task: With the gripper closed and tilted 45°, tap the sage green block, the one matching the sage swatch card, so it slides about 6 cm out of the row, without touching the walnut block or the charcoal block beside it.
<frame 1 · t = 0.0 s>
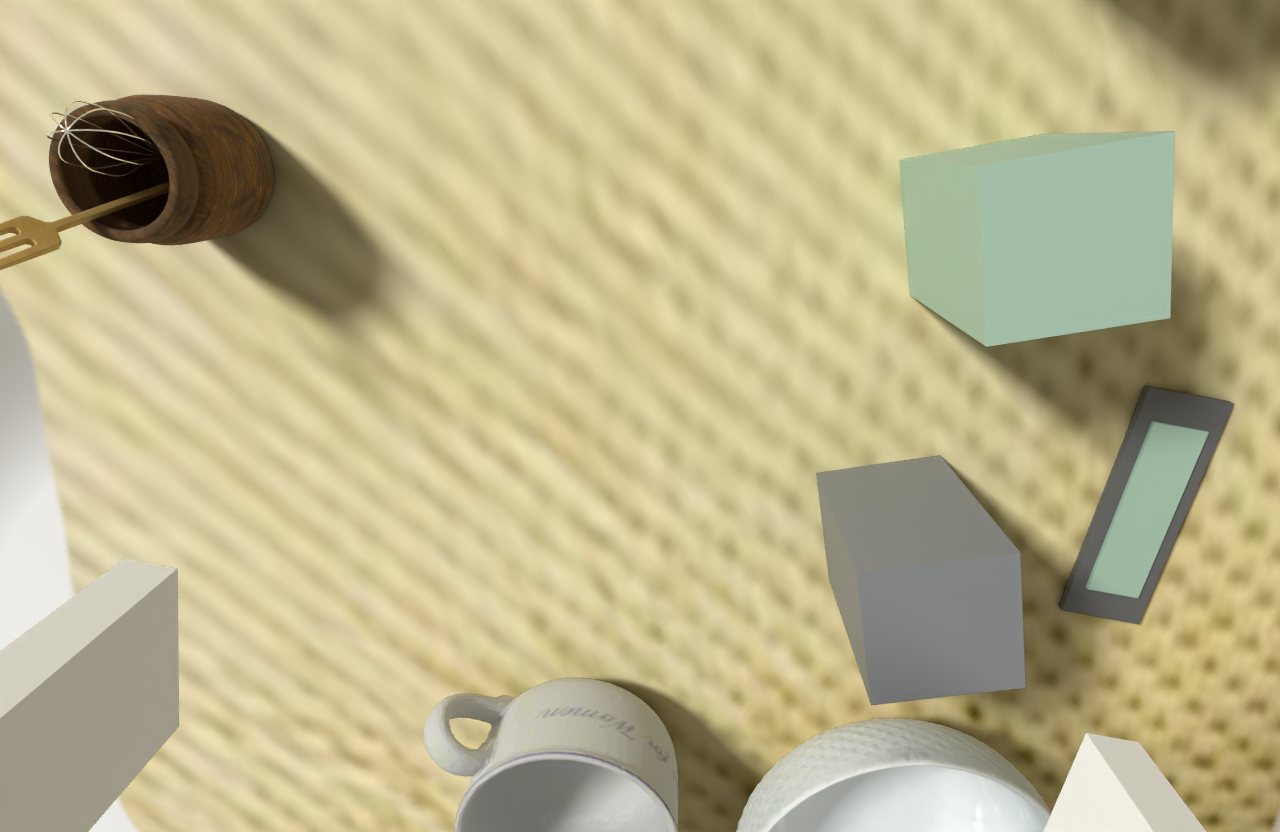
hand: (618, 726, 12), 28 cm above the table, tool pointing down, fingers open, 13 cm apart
charcoal block: (882, 519, 41), on the table
sage block: (973, 217, 36), on the table
teacup: (566, 711, 46), on the table
utensil holder: (216, 171, 37), on the table
cereal bowl: (871, 794, 47), on the table
swatch card: (1139, 508, 40), on the table
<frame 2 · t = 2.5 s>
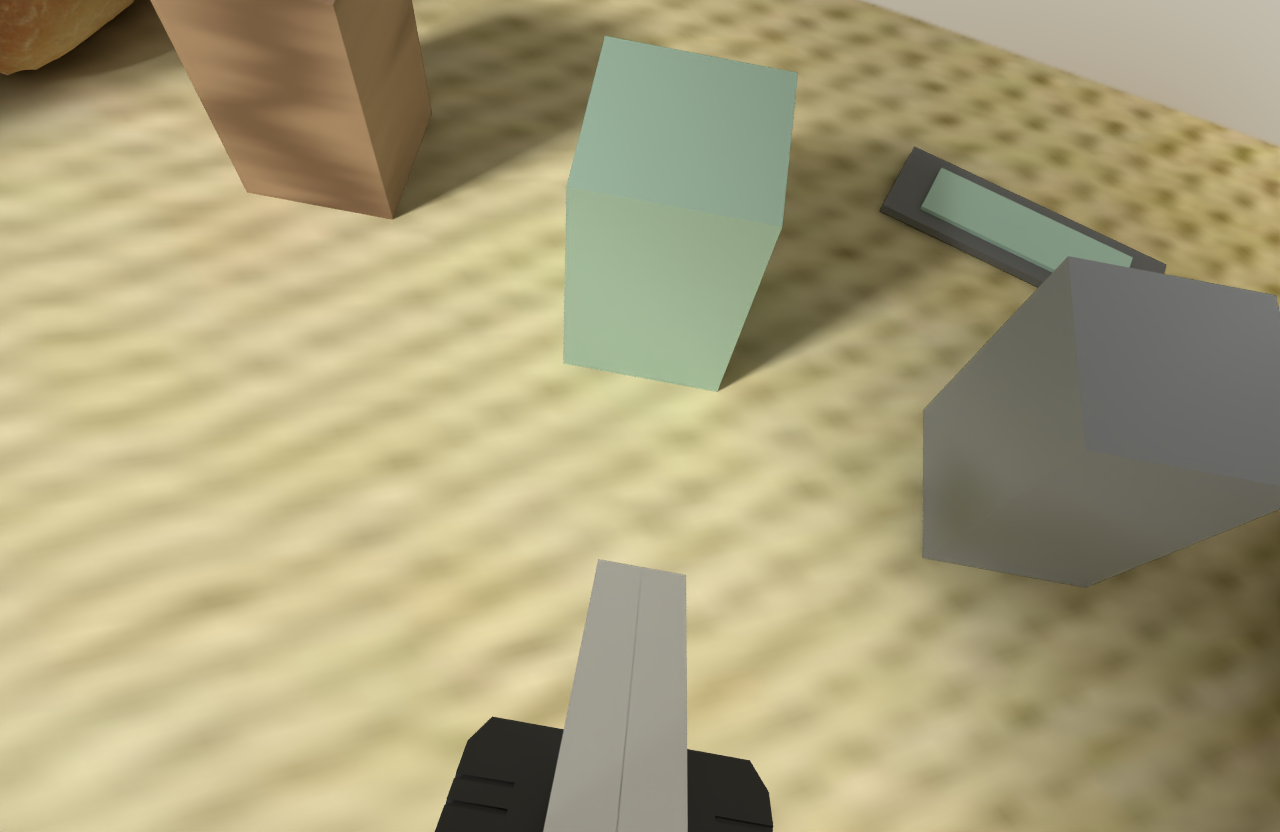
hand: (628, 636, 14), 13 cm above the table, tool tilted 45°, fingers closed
charcoal block: (1001, 495, 31), on the table
sage block: (652, 312, 33), on the table
walnut block: (343, 151, 35), on the table
swatch card: (1020, 240, 36), on the table
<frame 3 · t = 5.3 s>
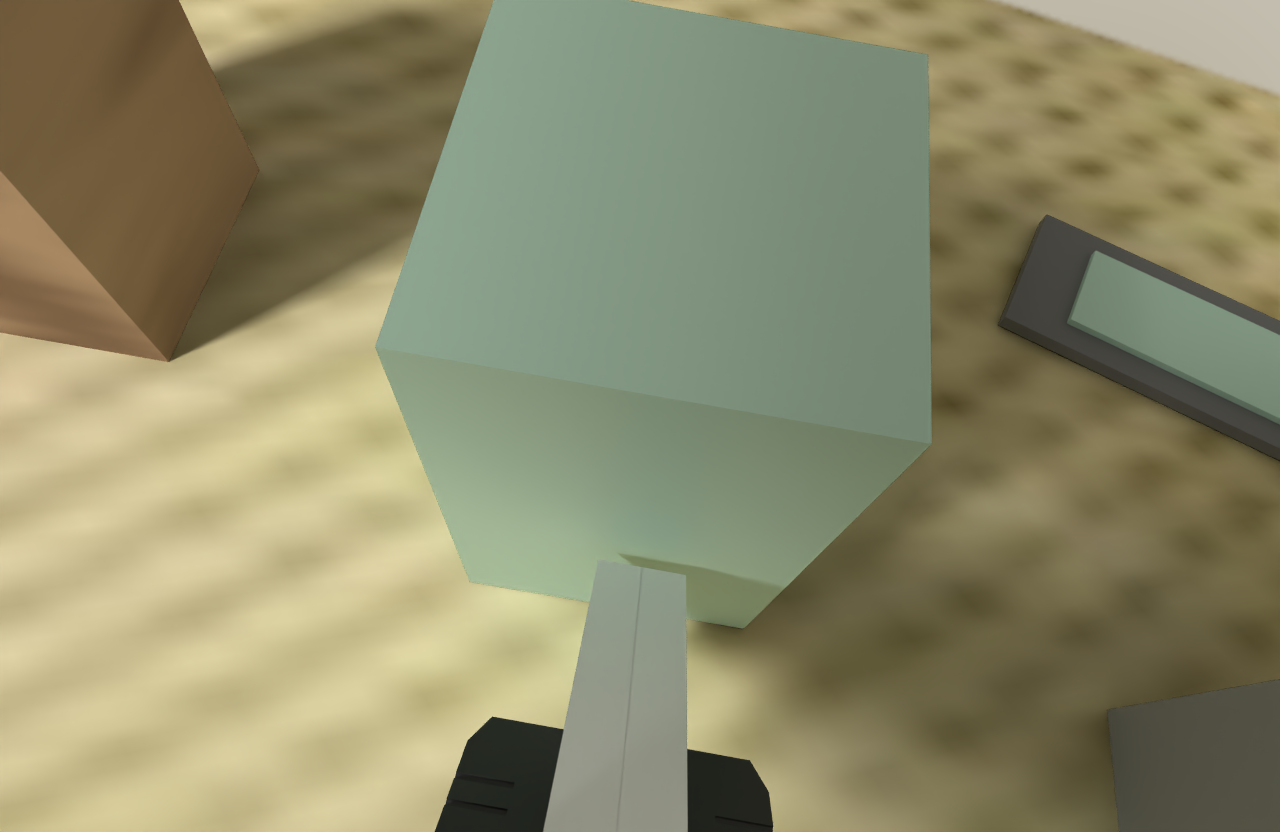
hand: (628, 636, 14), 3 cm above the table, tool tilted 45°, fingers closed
sage block: (628, 477, 19), on the table, touching gripper
walnut block: (98, 239, 21), on the table
swatch card: (1231, 371, 22), on the table
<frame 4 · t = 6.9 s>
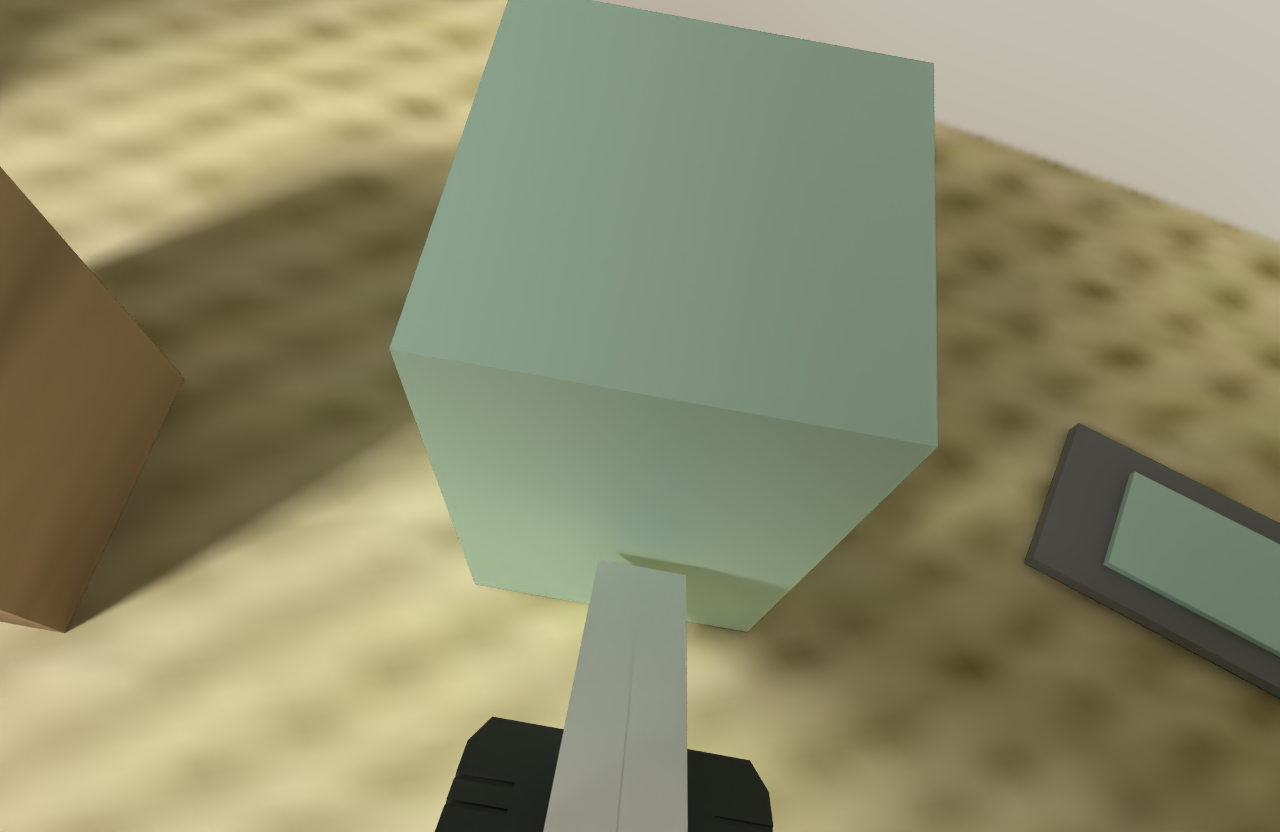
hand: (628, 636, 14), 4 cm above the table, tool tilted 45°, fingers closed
sage block: (633, 481, 19), on the table, touching gripper
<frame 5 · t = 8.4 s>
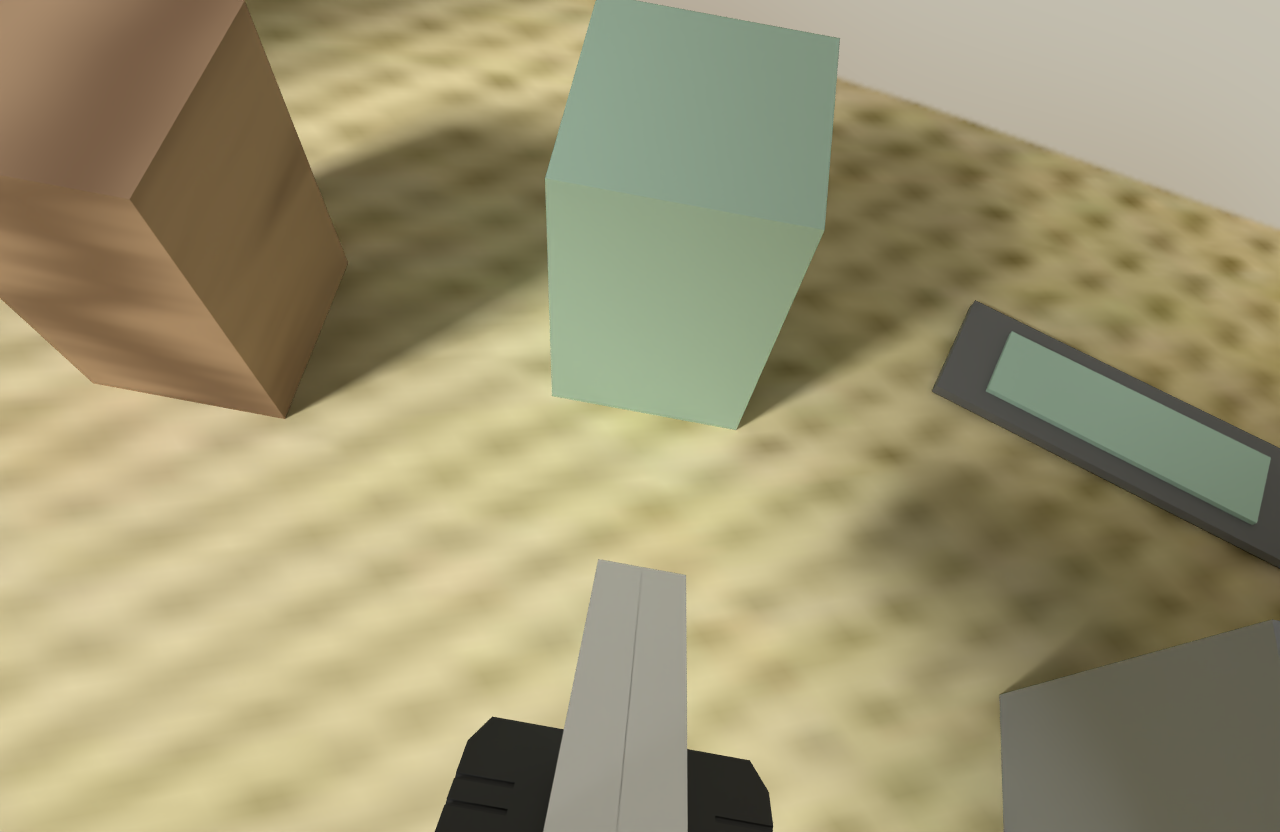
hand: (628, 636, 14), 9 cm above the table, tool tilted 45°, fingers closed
charcoal block: (1113, 830, 22), on the table
sage block: (658, 334, 28), on the table
walnut block: (227, 320, 26), on the table
swatch card: (1117, 430, 27), on the table
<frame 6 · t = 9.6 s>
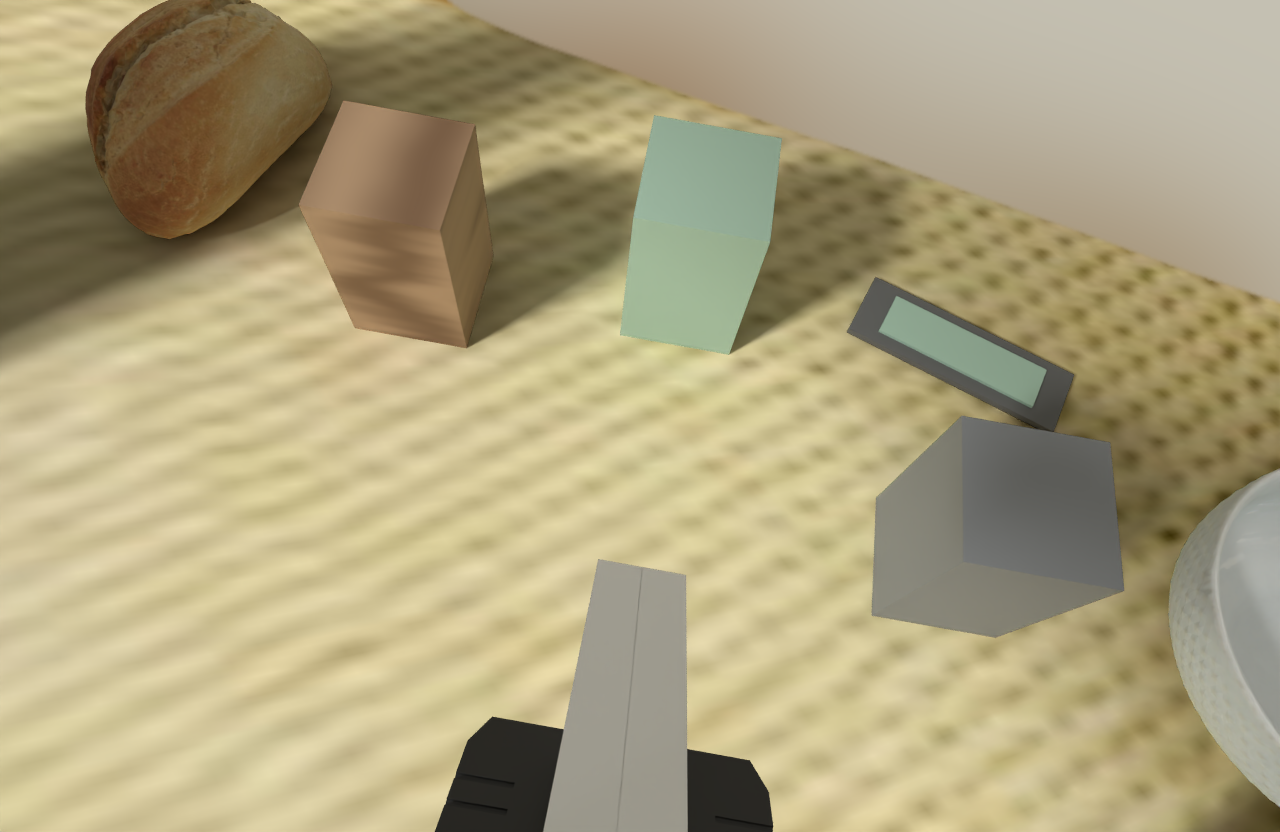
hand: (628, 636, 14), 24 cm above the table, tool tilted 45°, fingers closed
charcoal block: (933, 565, 40), on the table
sage block: (682, 298, 46), on the table
walnut block: (426, 291, 45), on the table
bread roll: (235, 156, 48), on the table
swatch card: (958, 355, 45), on the table
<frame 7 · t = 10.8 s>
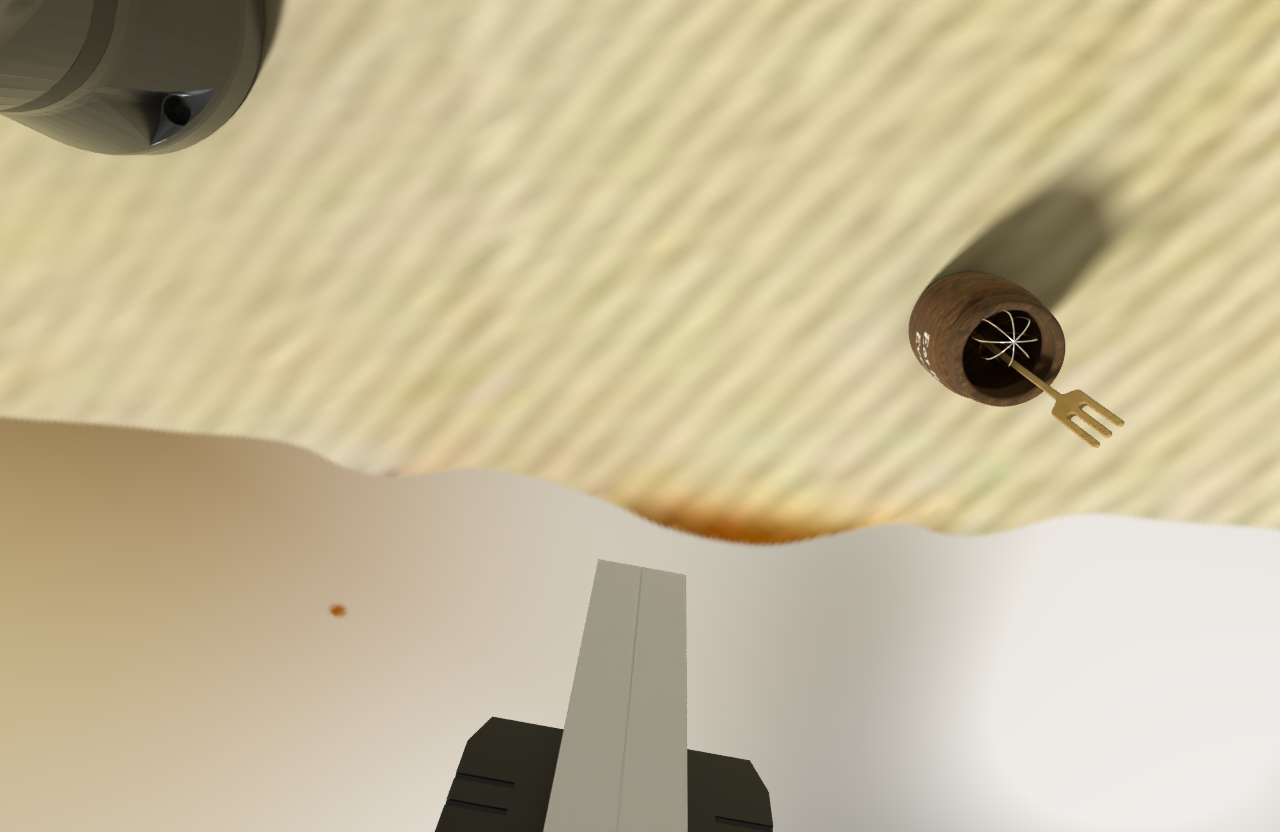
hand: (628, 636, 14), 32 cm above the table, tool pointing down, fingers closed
utensil holder: (961, 325, 44), on the table
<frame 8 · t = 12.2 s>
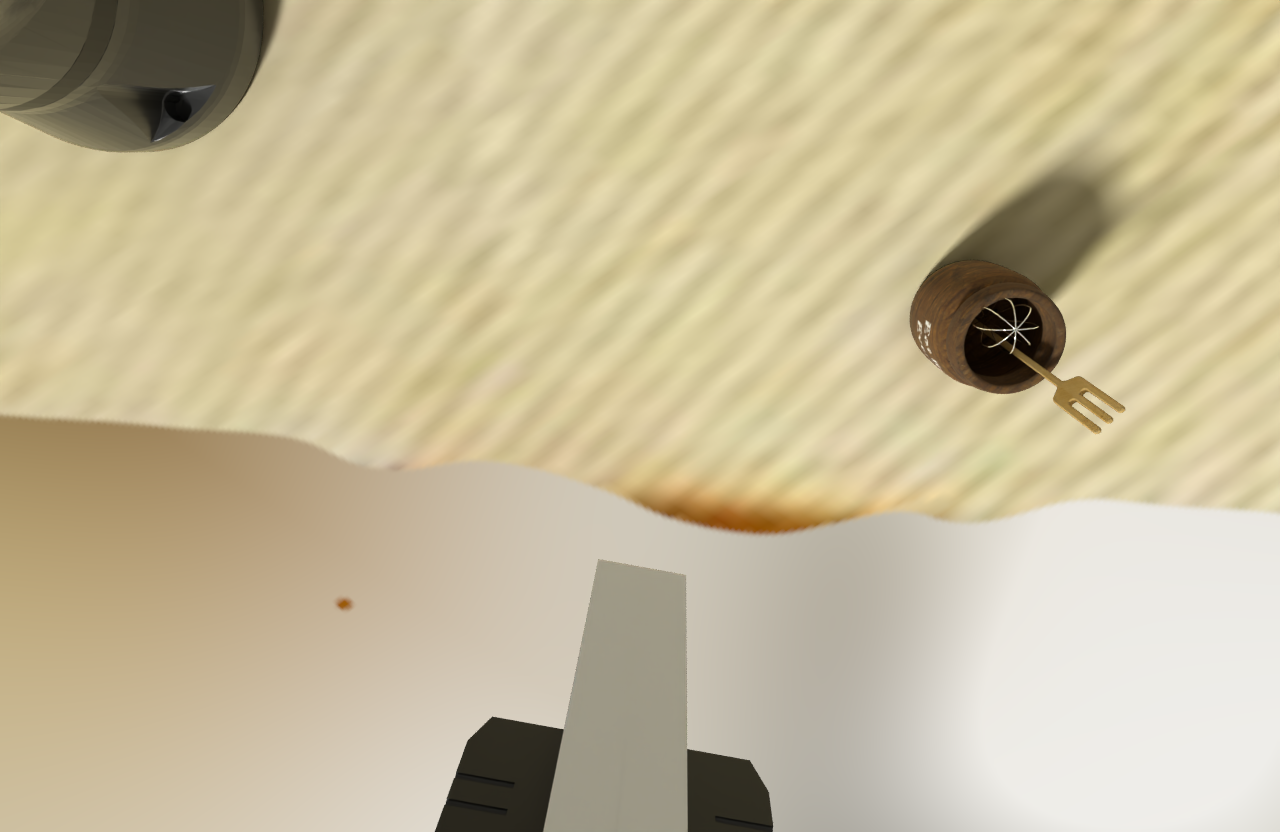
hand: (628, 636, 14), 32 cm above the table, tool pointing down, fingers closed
utensil holder: (962, 313, 44), on the table
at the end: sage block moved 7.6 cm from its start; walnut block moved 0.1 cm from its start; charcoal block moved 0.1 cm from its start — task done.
